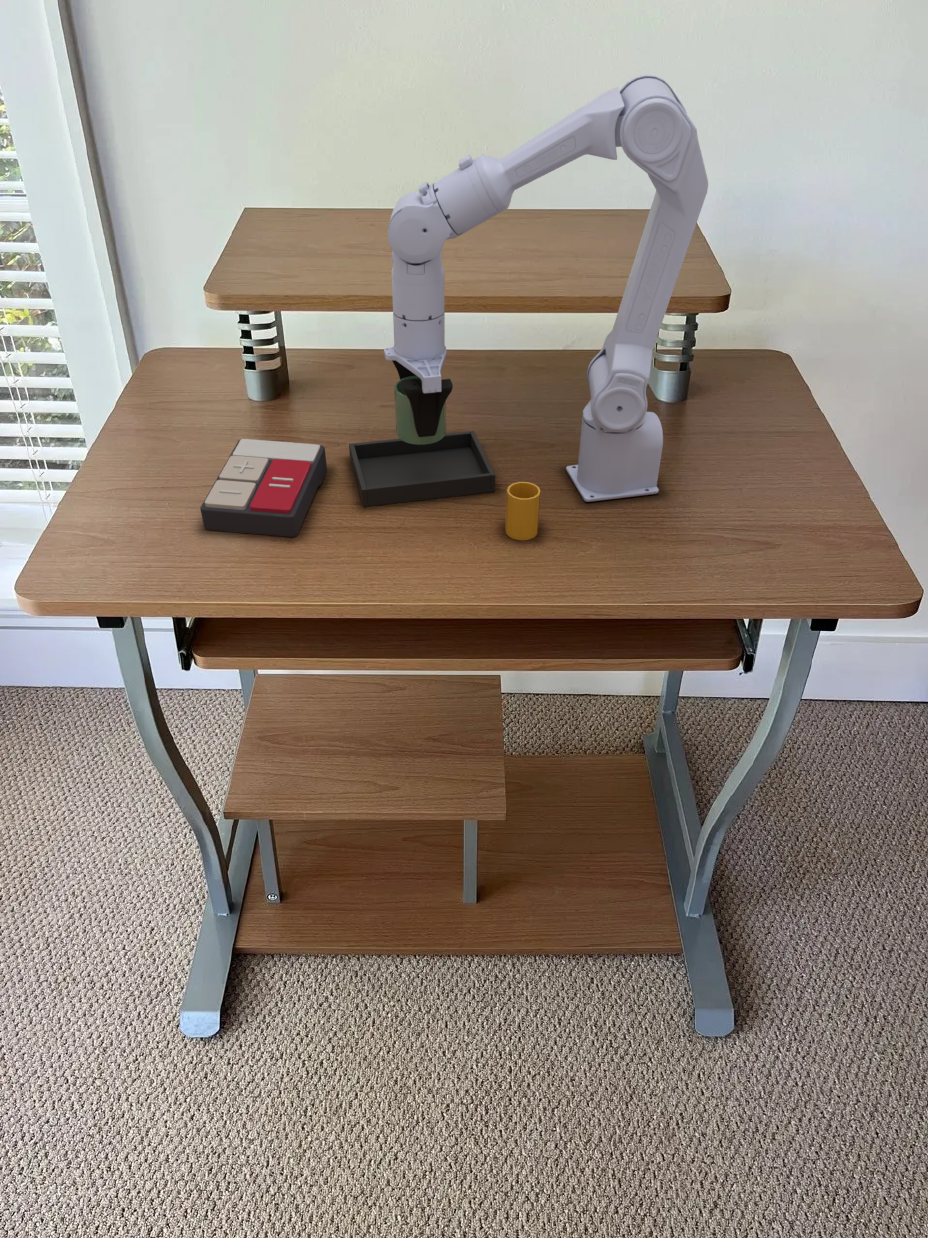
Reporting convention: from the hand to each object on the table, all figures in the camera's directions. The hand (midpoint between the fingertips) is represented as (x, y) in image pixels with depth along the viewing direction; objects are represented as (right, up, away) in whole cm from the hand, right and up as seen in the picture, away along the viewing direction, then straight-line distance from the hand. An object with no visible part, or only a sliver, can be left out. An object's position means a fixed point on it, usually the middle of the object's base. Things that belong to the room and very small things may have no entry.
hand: (421, 421), depth 118 cm
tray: (0, -6, +5) cm, 8 cm away
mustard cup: (+12, -13, -4) cm, 18 cm away
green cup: (0, -1, +1) cm, 1 cm away
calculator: (-18, -9, +1) cm, 21 cm away
